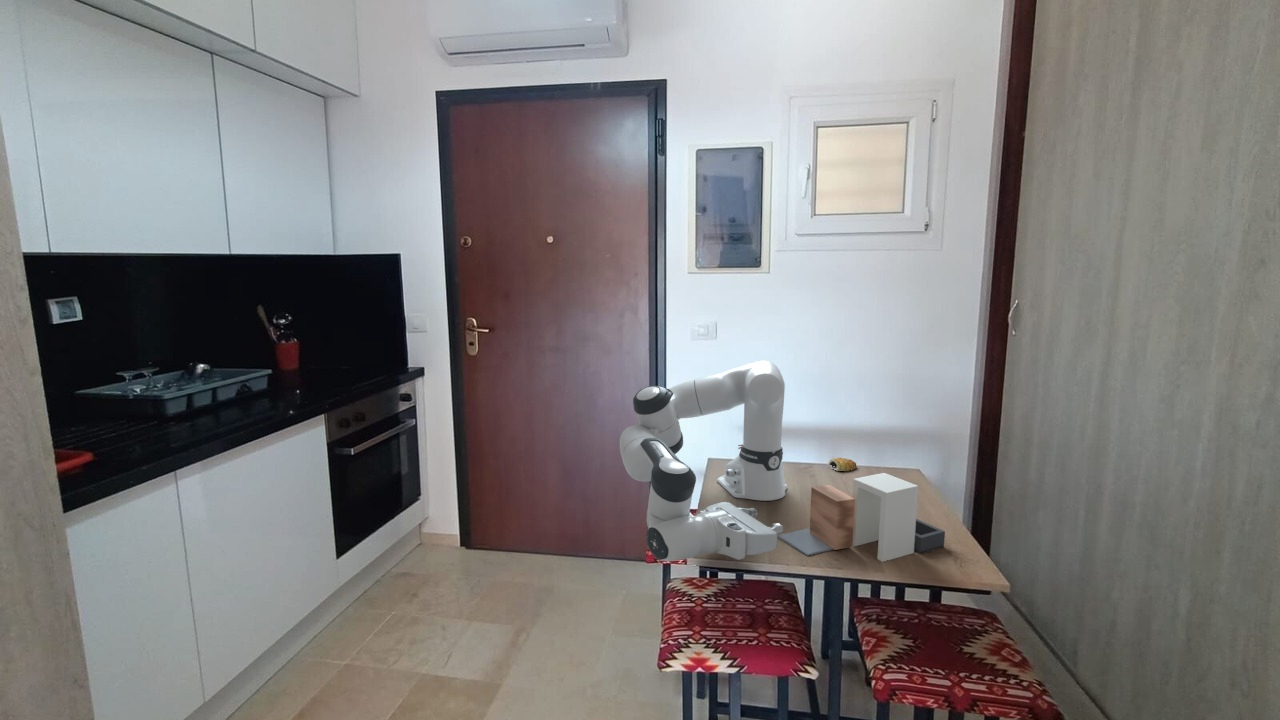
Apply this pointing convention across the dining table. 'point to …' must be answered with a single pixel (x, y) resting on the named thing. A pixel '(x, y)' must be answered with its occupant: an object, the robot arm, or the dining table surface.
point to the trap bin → (927, 537)
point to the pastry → (842, 464)
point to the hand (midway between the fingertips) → (768, 519)
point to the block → (832, 516)
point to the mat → (805, 542)
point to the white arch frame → (885, 514)
